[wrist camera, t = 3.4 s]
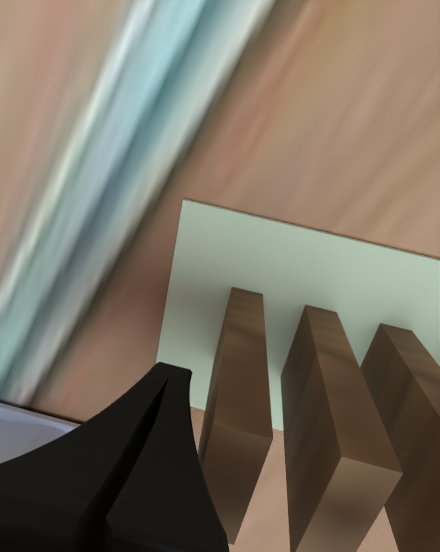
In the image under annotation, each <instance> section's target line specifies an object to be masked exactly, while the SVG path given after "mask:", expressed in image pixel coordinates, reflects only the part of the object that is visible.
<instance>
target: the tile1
mask: <svg viewBox="0 0 440 552" xmlns="http://www.w3.org/2000/svg"><path fill="white" fill-rule="evenodd" d="M272 440H273V431H272V417H271V403H270V389H269V375H268V361H267V347H266V333H265V319H264V305H263V294H261V293H257V292H252V291H248V290H244V289H239V288H235V287H232V288H231V292H230V296H229V300H228V304H227V308H226V312H225V317H224V321H223V325H222V329H221V333H220V337H219V341H218V345H217V349H216V353H215V357H214V362H213V367H212V373H211V379H210V385H209V391H208V396H207V402H206V408H205V414H204V420H203V426H202V431H201V437H200V443H199V449H198V458H199V462H200V466H201V469H202V472H203V476H204V479H205V482H206V485H207V488H208V491H209V494H210V496H211V499H212V502H213V504H214V507H215V509H216V512H217V514H218V516H219V519H220V521H221V523H222V525H223V528H224V530H225V532H226V534H227V540H228V543H229V544H233V545H234V543H235V540H236V538H237V535H238V532H239V530H240V527H241V524H242V521H243V519H244V516H245V513H246V511H247V508H248V505H249V502H250V500H251V497H252V494H253V492H254V489H255V486H256V483H257V481H258V478H259V475H260V473H261V470H262V467H263V464H264V462H265V459H266V456H267V454H268V451H269V448H270V445H271V443H272Z"/></svg>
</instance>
